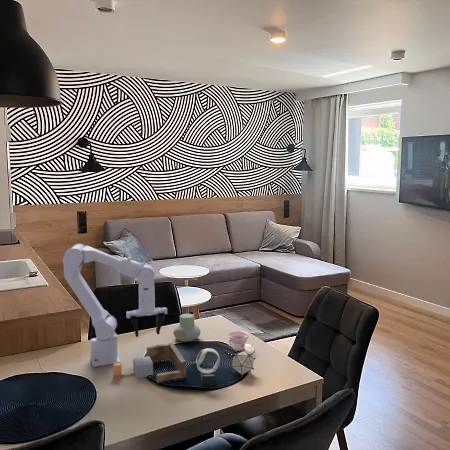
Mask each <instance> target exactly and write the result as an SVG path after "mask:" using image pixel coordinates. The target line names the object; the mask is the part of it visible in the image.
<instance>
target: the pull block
mask: <svg viewBox="0 0 450 450" xmlns="http://www.w3.org/2000/svg"><path fill="white" fill-rule="evenodd" d="M132 363H133V364H132V367H133V369H132V371H133V372H130V373H125V374H122V363H121V362H120V363H115V364H112V365H113V366H112V369H113V379H114V380H120V379H121V378H122V377H127V376H134V375H135V378H136V379H140V378H147V376H148V375H153V376H154V363H153V362H152V360H151V359H150V357H149V356H147V355H146V356H142V357H134V358H132ZM148 377H149V376H148Z"/></svg>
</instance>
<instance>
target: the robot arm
mask: <svg viewBox="0 0 450 450" xmlns="http://www.w3.org/2000/svg"><path fill="white" fill-rule="evenodd" d="M91 262H97V263H101V264H103V265H106V266H110V267H113V268H115V269H116V270H117V272H118V273H119V274H122V275H125V276H128V277H130V278H133V279H137V281H138V309H134V310H130V311H128V310H127V311H126V315H125V316H126V319H129V320H130V321H131V324H132V327H133V329H134V333H135V338H139V318H138V317H145V316H146V317H147V316H155V322H156V324H155V325H156V326H155V332H156V333H155V334H157V335H160V331H161V328H162V324H163V322H164V321H165V320H166V319H165V318H166V315H168V308H167V307H155V306H156V302H155V301H156V298H155V297H156V295H155V294H156V293H155V290H156V287H155V274H156V273H155V272H156V270H155V268H154V266H153V265H151V264H149V263H145V262H142V261H141V262H138V261H136V260H133V259H132V257H130V256H127V257H122V258H118V257H115V256H113V255H111V254H109V253H107V252H106V253H105V252H104V251H101V250H100V249H97V248H94V247H92V246H90V245H84V244H82V243H76V244H73V245H72V247H70V248H68V249H67V250H66V251H65V253H64V255H63V258H62V264H63V277H64V279H65V281H66V282H67V284H68V285H69V286H70V288H71V290H72V291H73V293H74V294H75V295H76V297H77V299H78V300H79V302H80V303H81V305H82V306H83V308H84V310H85V311H86V312H87V314H88V316H89V317H90V318H91V324H92V327H94V331H95V335H96V337H93V338H90V355H89V357H90V360H91V365H92V368H93V367H100V366H107V365H113V364H115V363H121V360H120V358H119V355H118V334H117V332H116V328H117V327H118V321H117V318H115V316H114V315H111V314H110V313H109V311H108V310H106V309H104V308H103V306H102V304H101V303H100V301H99V300H98V298H97V297H96V295H95V294H94V292H93V291H92V289H91V288H90V286H89V284H88V283H87V281H86V280H85V279H84V277H83V275H82V273H81V270H82V267H83V264H87V263H91Z"/></svg>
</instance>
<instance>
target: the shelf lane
mask: <svg viewBox="0 0 450 450" xmlns="http://www.w3.org/2000/svg"><path fill="white" fill-rule="evenodd" d="M147 356H149V357H150V359H151V360H152V361H161V360H167V359H170V360H171V362H172V364H173V365H174V367H175V368H176V370H177V371H176V370H174V371H173V370H172V371H166V372H161V373H156V383H157V384H160V383H159V382H162V383H164V382H163V381H167V380H171V379H176V378H185V377H186V378H187V366H186V365H187V362H186V360H185V358H184V357H183V355H182V354H181V352H180V351H179V350H178V347H176V345H175V344H174V343H173V342H168V343H161V344H154V345H147V346H146V357H147ZM171 362H170V363H171ZM172 364H171V365H172ZM173 365H172V366H173ZM174 367H173V368H174ZM175 368H174V369H175Z"/></svg>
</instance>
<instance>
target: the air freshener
mask: <svg viewBox="0 0 450 450" xmlns="http://www.w3.org/2000/svg"><path fill="white" fill-rule="evenodd" d="M200 335H201V328H200V327H199V326H198V325H196V324H195V315H194V314H192V313H183V314H181V315H179V324H178V325H177V326H176V327H174V329H173V336H174V337H175V339H177V340H178V341H181V342H183V343H189V342H192V341H196V340H197V339H198V338H199V337H200Z"/></svg>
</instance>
